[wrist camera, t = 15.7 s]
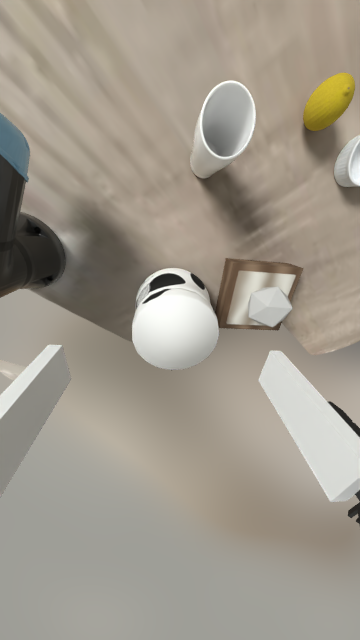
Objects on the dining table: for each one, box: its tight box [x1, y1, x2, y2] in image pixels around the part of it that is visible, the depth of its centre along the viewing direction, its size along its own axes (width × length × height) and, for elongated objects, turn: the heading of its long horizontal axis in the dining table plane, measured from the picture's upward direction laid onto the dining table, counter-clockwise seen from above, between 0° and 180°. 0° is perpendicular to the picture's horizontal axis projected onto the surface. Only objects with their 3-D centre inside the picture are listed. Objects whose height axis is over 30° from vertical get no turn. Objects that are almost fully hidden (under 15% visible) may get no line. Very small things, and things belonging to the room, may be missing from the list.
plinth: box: [215, 258, 303, 330], centre depth 45 cm, size 16×16×6 cm
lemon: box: [303, 73, 355, 131], centre depth 29 cm, size 6×6×8 cm
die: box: [248, 287, 293, 327], centre depth 39 cm, size 8×9×10 cm
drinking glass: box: [190, 81, 256, 178], centre depth 27 cm, size 7×7×15 cm
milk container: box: [132, 268, 219, 370], centre depth 39 cm, size 17×17×18 cm
